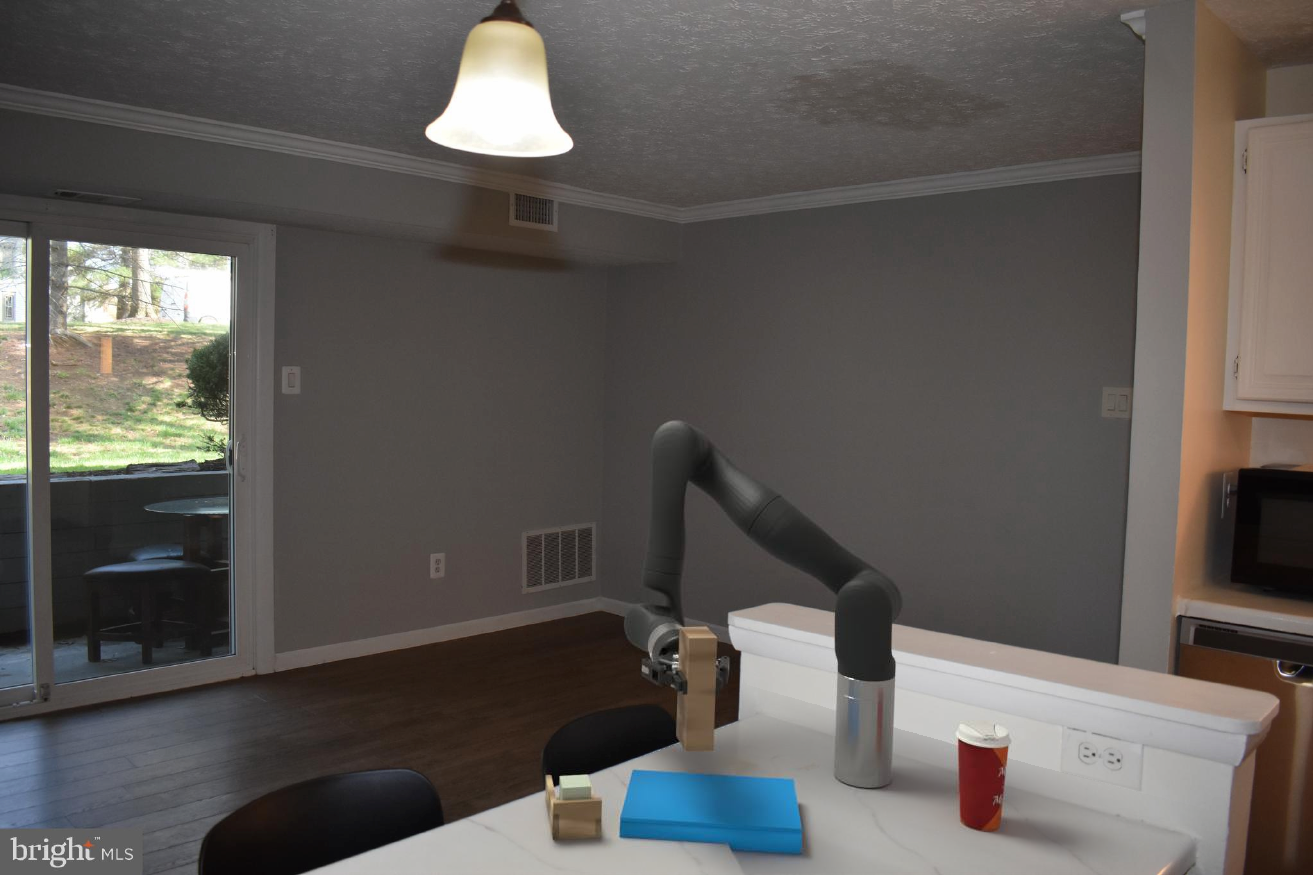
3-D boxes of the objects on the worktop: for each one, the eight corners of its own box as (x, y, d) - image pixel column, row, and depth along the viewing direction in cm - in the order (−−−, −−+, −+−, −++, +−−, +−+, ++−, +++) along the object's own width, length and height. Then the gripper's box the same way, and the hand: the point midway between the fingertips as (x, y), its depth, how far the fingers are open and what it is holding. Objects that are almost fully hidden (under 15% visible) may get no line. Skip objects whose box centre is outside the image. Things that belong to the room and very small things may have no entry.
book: (631, 769, 143) (793, 775, 141) (630, 796, 143) (792, 803, 142) (619, 819, 126) (803, 827, 124) (618, 850, 126) (802, 858, 125)
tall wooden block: (676, 735, 134) (679, 627, 133) (702, 734, 135) (706, 626, 134) (685, 751, 128) (689, 638, 127) (713, 750, 129) (717, 637, 128)
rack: (545, 804, 138) (546, 765, 138) (589, 801, 139) (589, 762, 139) (552, 846, 125) (553, 803, 125) (600, 843, 126) (601, 800, 126)
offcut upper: (559, 796, 130) (559, 776, 130) (587, 795, 131) (587, 774, 131) (561, 809, 126) (562, 788, 126) (590, 807, 127) (591, 786, 127)
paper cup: (1015, 835, 132) (1019, 739, 131) (961, 833, 132) (965, 737, 131) (996, 811, 140) (1000, 720, 139) (945, 809, 140) (949, 718, 139)
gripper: (631, 629, 144) (652, 662, 127) (719, 627, 146) (751, 659, 130) (629, 676, 144) (650, 715, 127) (717, 674, 147) (749, 711, 130)
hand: (701, 686), depth 128 cm, fingers closed on tall wooden block, 4 cm apart
